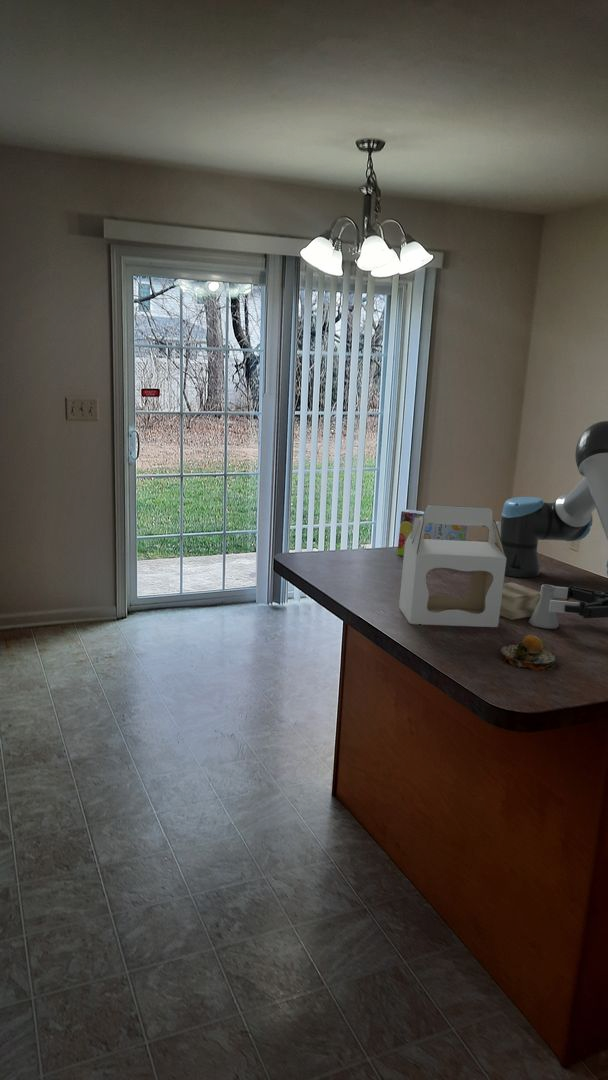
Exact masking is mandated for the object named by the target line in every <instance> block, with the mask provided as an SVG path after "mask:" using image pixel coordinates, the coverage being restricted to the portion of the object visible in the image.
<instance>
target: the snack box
mask: <svg viewBox="0 0 608 1080" xmlns="http://www.w3.org/2000/svg"><path fill="white" fill-rule="evenodd" d="M423 515H424V511H421V510H413V509H412V510H411V509H404V510H402V511H401V513H400V520H399V522H400V523H399V530H398V531H399V532H398V544H397V551H396V552H397V556H400V557H404V549H405V541H406V540H407V538H408V536H409V534H410V533H411V531H412V527H413V521H414V517H418V518H420V517H421V516H423ZM467 530H468V525H448V524H432V525H431V524H427V525H426V526H425V529H424V539H434V540H455V541H467V534H468V533H467V532H468V531H467Z"/></svg>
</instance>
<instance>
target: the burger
mask: <svg viewBox="0 0 608 1080" xmlns="http://www.w3.org/2000/svg"><path fill="white" fill-rule="evenodd" d="M539 636H540V634H538V635H534V634H533V635H532V634H529V635H528V634H527V635H525V636H524V637H523V641H521V642H519V643H512V644H506V645H503V646H502V647H500V648H499V649H498V651H499V654H500V658H499V659H500V660H501V661H502V662H504V663H507V660H508V661H509V663H510V665H511V666H513V667H514V666H515V668H516V667H519V669H520V668H521V667H523V668H524V669H525V668H529V669H530V670H531V671H539V670H542V671H546V670H545V669H547V668H548V670H552V669H554V668H555V667H556V666H555V665H557V663H556V660H557V656H556V654H555V653H554V652H552V651H549V650H548V649H547V648H546V649H545V648H544V647H546V644H543V641H542V640H541V639H540V638H539ZM552 667H553V668H552Z"/></svg>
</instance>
